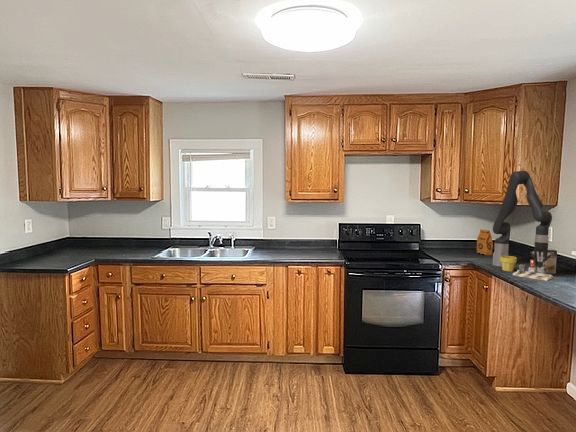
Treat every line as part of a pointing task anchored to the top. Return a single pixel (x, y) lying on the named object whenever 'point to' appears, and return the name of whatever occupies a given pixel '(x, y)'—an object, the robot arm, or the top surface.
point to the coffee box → (549, 263)
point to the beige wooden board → (534, 275)
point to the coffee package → (484, 242)
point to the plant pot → (508, 262)
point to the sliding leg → (532, 267)
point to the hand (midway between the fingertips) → (540, 267)
